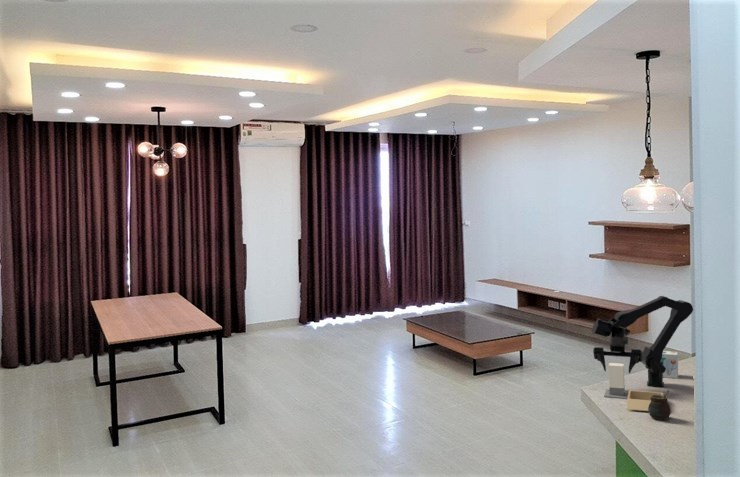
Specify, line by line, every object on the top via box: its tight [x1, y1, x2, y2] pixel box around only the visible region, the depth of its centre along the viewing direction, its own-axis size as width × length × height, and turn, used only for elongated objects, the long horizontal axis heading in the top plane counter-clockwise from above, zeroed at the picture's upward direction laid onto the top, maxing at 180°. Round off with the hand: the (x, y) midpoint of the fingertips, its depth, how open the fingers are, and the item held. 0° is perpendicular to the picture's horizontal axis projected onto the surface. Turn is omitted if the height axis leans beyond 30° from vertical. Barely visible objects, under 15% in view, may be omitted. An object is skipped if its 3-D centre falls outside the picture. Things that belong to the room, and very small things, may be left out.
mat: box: [603, 389, 629, 400], centre depth 249 cm, size 10×9×1 cm
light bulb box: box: [660, 350, 679, 379], centre depth 275 cm, size 11×7×11 cm, turn 62°
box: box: [608, 362, 626, 396], centre depth 249 cm, size 4×6×12 cm
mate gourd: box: [647, 389, 672, 421], centre depth 219 cm, size 7×8×10 cm
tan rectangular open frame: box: [626, 389, 664, 412], centre depth 235 cm, size 19×12×4 cm, turn 154°
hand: (617, 371), depth 250 cm, fingers open, 9 cm apart
